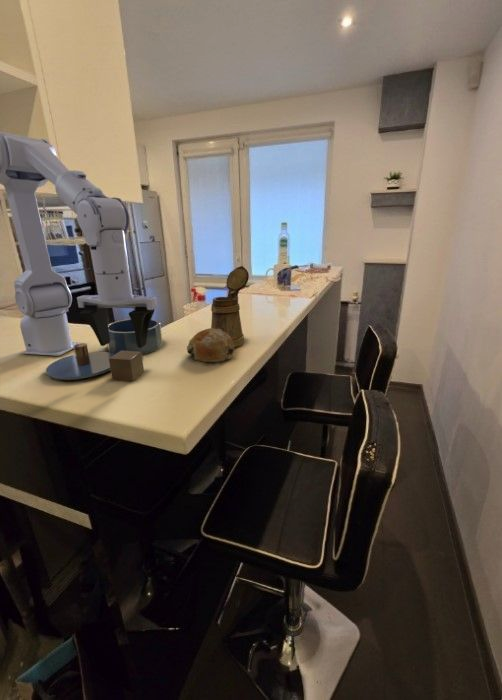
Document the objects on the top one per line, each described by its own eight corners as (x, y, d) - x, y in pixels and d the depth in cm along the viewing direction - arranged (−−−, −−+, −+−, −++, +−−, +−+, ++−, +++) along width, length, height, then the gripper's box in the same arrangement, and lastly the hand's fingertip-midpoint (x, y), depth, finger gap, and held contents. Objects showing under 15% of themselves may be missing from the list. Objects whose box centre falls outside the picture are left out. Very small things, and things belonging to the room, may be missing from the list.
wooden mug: (258, 334, 89) (258, 266, 82) (233, 350, 77) (231, 272, 71) (229, 330, 92) (227, 265, 86) (202, 344, 81) (197, 270, 75)
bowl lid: (30, 379, 63) (23, 354, 62) (79, 354, 76) (75, 333, 74) (91, 385, 60) (86, 360, 59) (132, 358, 73) (128, 336, 71)
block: (112, 379, 63) (108, 358, 61) (124, 370, 67) (121, 350, 65) (133, 381, 62) (130, 359, 61) (144, 371, 66) (141, 351, 65)
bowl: (97, 354, 76) (93, 331, 74) (125, 337, 87) (122, 317, 85) (148, 357, 74) (145, 334, 72) (170, 339, 85) (168, 319, 83)
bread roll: (219, 380, 70) (233, 349, 67) (177, 358, 71) (189, 326, 67) (230, 362, 79) (244, 335, 76) (193, 343, 80) (205, 315, 76)
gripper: (160, 270, 60) (167, 340, 65) (89, 269, 62) (101, 336, 67) (142, 275, 53) (151, 352, 58) (63, 274, 56) (78, 348, 61)
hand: (123, 345), depth 62 cm, fingers open, 7 cm apart
